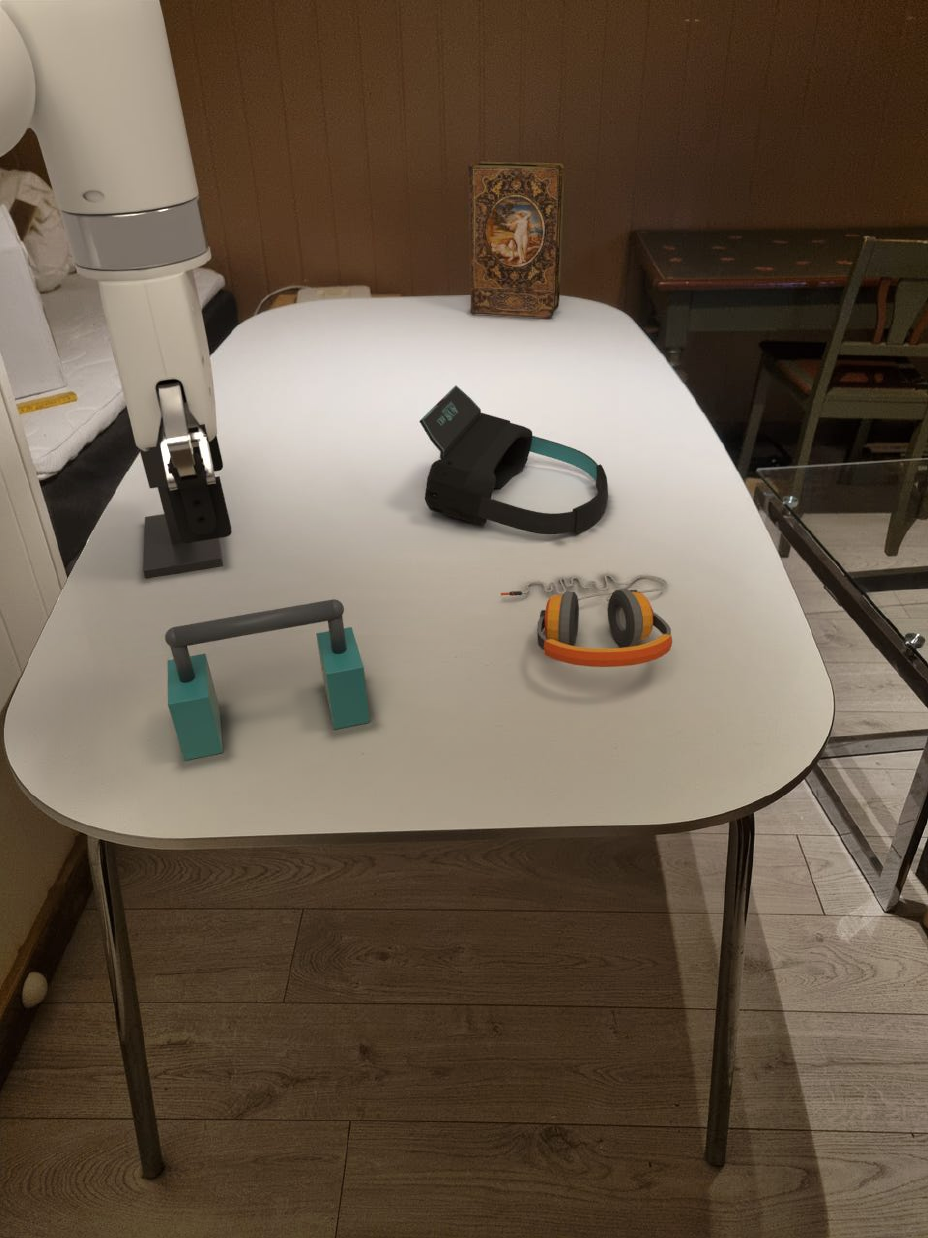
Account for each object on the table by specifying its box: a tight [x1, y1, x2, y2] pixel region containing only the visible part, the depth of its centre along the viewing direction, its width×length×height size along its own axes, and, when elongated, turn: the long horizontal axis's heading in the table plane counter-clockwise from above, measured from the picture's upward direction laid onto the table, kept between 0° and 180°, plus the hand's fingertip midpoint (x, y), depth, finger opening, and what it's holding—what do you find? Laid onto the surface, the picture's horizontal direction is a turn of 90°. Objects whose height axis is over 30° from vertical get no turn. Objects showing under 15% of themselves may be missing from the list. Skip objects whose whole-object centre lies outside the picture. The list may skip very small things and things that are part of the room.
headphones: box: [500, 574, 673, 668], centre depth 79 cm, size 17×5×20 cm
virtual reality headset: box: [418, 385, 609, 536], centre depth 99 cm, size 19×22×10 cm
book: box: [468, 161, 565, 319], centre depth 155 cm, size 16×6×25 cm, turn 74°
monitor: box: [138, 436, 224, 579], centre depth 88 cm, size 8×16×24 cm, turn 16°
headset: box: [164, 598, 371, 761], centre depth 69 cm, size 15×6×11 cm, turn 106°
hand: (204, 502), depth 59 cm, fingers open, 9 cm apart
